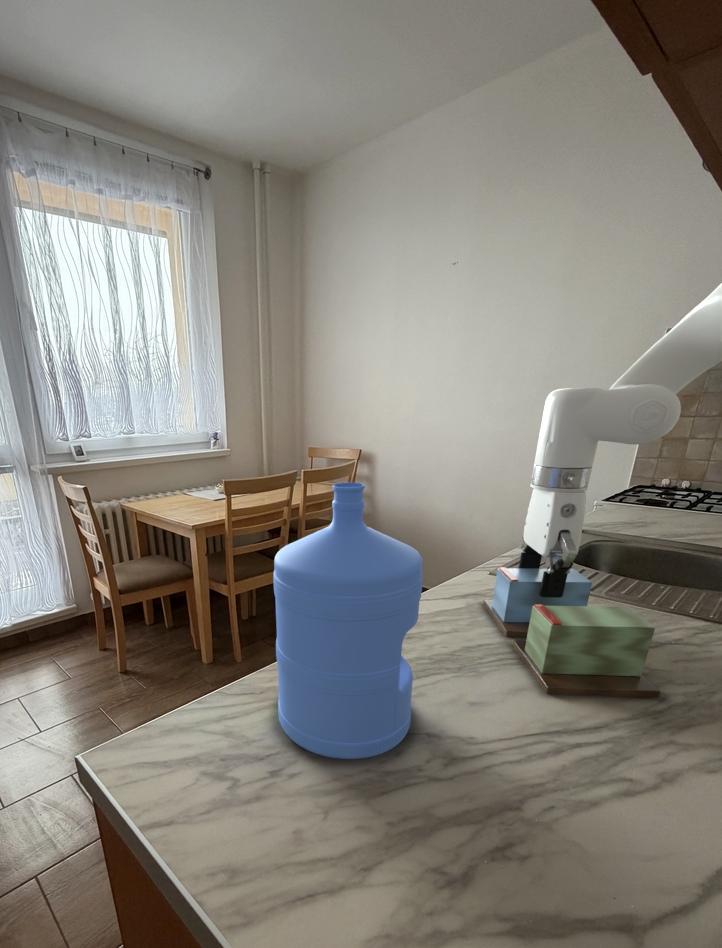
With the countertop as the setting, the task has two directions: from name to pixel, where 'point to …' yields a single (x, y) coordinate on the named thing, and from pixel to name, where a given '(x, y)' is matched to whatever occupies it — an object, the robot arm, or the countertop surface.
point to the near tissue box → (588, 640)
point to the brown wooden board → (588, 681)
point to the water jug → (345, 634)
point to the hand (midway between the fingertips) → (538, 585)
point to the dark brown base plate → (507, 623)
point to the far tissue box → (533, 592)
